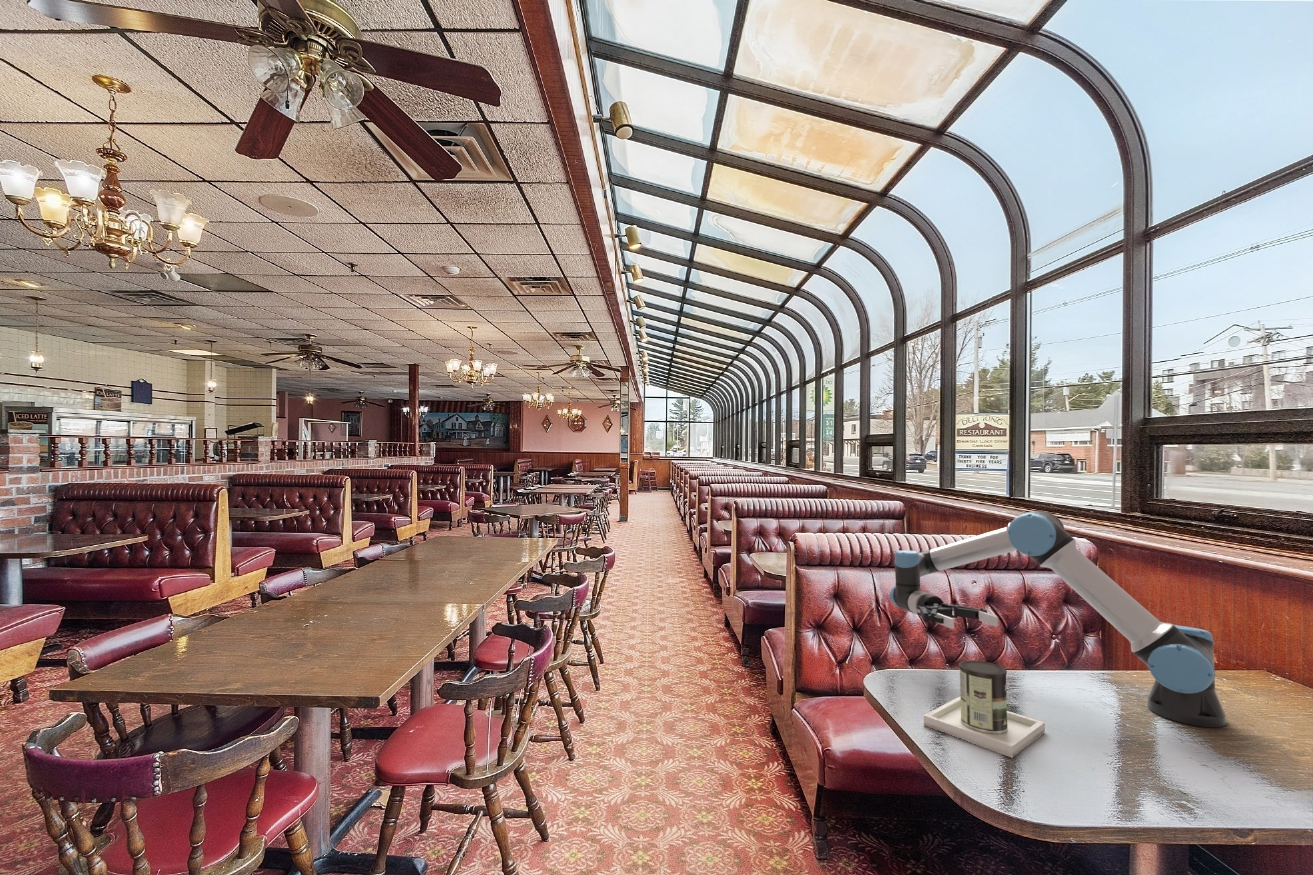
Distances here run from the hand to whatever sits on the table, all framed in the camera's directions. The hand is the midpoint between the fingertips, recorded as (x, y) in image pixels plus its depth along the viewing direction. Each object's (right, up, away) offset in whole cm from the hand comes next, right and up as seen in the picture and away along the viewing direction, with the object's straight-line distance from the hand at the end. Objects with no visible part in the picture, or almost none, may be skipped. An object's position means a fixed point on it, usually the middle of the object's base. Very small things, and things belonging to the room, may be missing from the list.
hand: (975, 622), depth 158 cm
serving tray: (-7, -21, -17) cm, 28 cm away
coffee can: (-7, -20, -17) cm, 27 cm away
